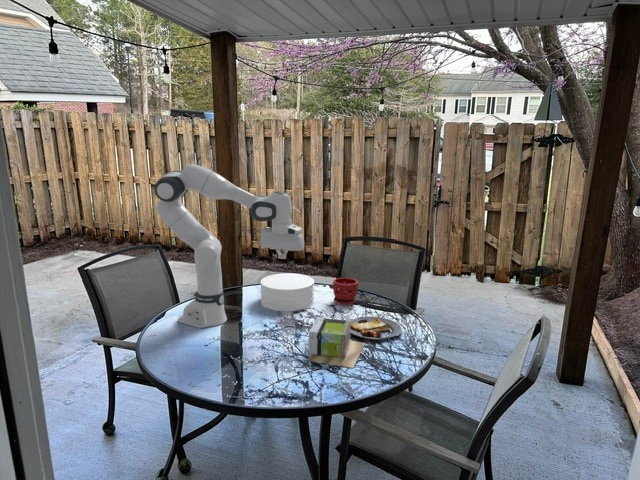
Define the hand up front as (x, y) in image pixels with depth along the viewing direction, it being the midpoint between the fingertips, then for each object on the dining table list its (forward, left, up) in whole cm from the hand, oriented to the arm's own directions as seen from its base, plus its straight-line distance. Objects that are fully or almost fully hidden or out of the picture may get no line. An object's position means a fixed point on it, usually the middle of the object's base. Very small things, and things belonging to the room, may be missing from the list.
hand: (282, 258), depth 198 cm
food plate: (+42, +5, -32) cm, 52 cm away
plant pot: (+21, +36, -31) cm, 52 cm away
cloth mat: (+32, -20, -31) cm, 49 cm away
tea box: (+21, -19, -26) cm, 38 cm away
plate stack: (-8, +27, -31) cm, 42 cm away
